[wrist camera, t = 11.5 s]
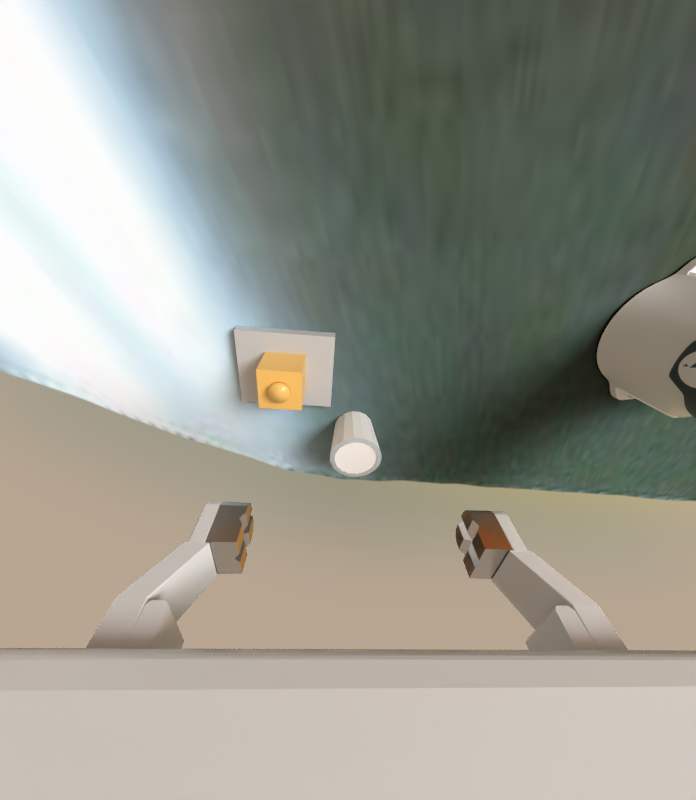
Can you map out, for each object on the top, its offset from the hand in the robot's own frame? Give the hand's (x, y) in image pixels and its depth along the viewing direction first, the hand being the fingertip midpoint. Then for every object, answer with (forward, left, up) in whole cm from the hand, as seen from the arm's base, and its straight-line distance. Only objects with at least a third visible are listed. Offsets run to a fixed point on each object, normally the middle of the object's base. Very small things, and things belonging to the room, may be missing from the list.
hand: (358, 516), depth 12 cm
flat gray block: (+7, +8, -29) cm, 31 cm away
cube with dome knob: (+7, +8, -28) cm, 30 cm away
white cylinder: (-3, +17, -29) cm, 34 cm away
